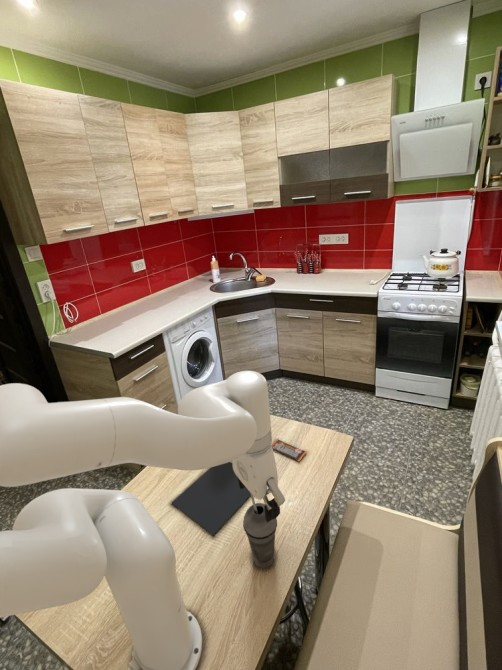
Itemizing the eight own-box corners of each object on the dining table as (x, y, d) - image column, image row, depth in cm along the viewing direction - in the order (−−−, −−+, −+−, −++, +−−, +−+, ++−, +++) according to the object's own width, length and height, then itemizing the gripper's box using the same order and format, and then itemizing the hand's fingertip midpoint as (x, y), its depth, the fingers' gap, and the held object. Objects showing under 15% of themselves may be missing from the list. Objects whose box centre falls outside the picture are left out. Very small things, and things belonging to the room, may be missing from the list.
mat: (213, 536, 84) (213, 535, 84) (171, 503, 93) (171, 502, 93) (263, 481, 98) (263, 480, 97) (222, 458, 107) (222, 457, 107)
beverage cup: (277, 576, 74) (272, 512, 66) (244, 571, 76) (235, 507, 67) (281, 544, 81) (277, 481, 72) (251, 540, 82) (243, 478, 74)
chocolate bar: (307, 452, 106) (307, 450, 106) (299, 462, 103) (299, 460, 103) (277, 439, 113) (276, 437, 112) (268, 448, 109) (268, 446, 109)
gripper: (212, 420, 69) (222, 482, 76) (261, 474, 55) (268, 543, 62) (243, 405, 72) (251, 466, 79) (297, 452, 59) (300, 521, 66)
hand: (258, 500), depth 71 cm, fingers open, 9 cm apart
